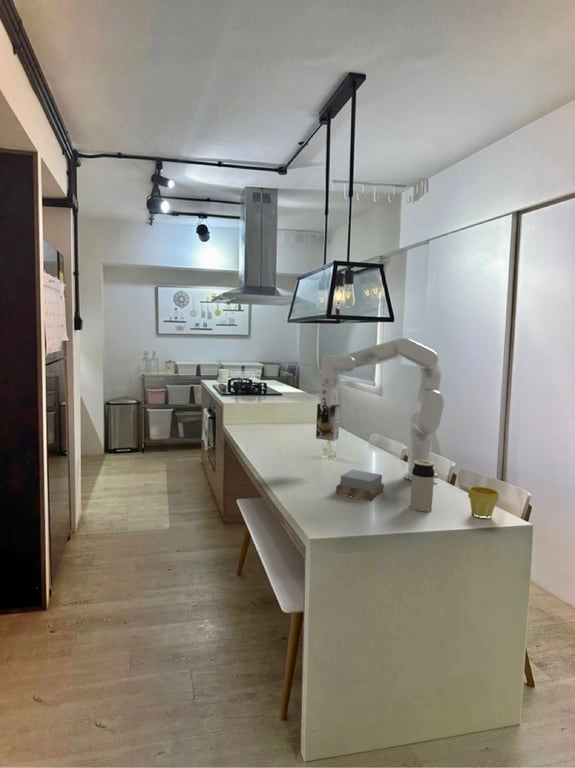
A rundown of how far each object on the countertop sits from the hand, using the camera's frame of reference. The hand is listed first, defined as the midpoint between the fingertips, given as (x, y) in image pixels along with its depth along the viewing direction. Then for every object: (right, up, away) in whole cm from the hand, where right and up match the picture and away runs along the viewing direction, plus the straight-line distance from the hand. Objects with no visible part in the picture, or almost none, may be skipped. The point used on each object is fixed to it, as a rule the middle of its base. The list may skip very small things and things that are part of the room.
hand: (327, 421), depth 228 cm
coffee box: (0, -8, +1) cm, 8 cm away
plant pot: (+53, -32, -44) cm, 76 cm away
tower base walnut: (+11, -28, -23) cm, 38 cm away
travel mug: (+32, -30, -39) cm, 59 cm away
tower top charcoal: (+12, -24, -24) cm, 36 cm away
